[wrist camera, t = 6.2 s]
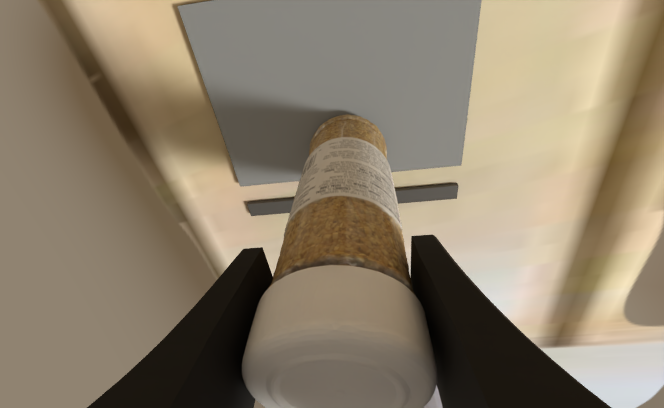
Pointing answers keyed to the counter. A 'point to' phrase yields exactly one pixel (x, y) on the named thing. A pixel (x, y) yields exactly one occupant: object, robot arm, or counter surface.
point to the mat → (335, 76)
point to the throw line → (401, 193)
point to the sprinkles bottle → (342, 289)
